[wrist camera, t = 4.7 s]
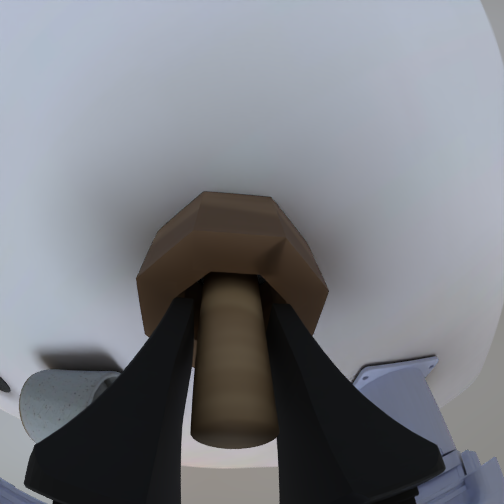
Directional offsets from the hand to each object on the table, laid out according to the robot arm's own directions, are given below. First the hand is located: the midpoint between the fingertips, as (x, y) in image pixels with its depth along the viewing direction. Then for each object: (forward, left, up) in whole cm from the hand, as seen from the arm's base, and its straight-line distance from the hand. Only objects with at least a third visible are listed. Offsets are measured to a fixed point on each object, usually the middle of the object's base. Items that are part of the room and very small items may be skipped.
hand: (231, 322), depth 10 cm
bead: (0, 0, -4) cm, 4 cm away
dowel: (0, 0, -3) cm, 3 cm away
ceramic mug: (-13, +10, -4) cm, 17 cm away
